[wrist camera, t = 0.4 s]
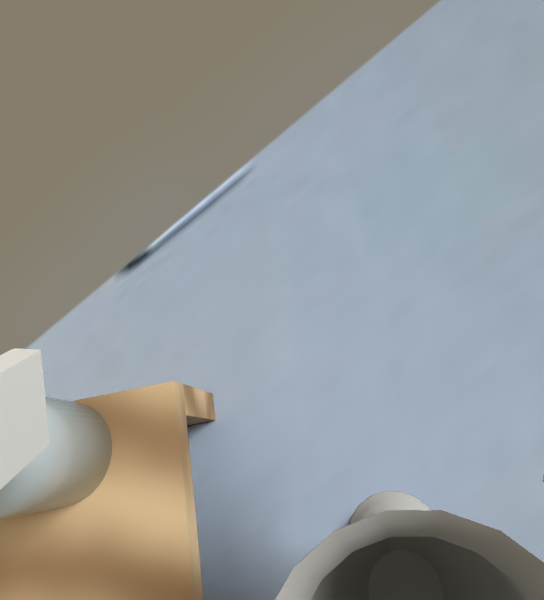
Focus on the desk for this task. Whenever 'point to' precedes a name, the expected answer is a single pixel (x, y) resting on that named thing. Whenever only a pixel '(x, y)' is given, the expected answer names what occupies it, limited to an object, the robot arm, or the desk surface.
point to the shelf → (119, 512)
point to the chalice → (414, 558)
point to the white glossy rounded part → (62, 462)
